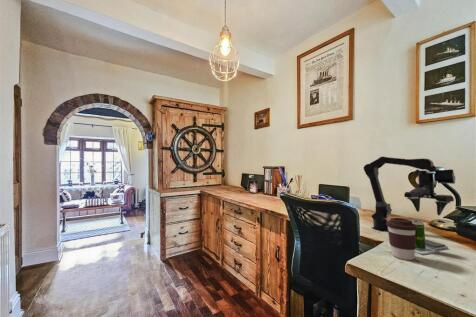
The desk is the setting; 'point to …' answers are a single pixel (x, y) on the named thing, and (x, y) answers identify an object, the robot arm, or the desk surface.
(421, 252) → the mat
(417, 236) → the green soda can
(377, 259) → the desk surface
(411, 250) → the coffee cup
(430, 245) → the ink pad
